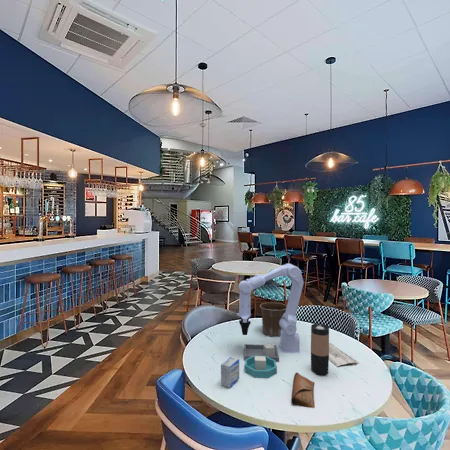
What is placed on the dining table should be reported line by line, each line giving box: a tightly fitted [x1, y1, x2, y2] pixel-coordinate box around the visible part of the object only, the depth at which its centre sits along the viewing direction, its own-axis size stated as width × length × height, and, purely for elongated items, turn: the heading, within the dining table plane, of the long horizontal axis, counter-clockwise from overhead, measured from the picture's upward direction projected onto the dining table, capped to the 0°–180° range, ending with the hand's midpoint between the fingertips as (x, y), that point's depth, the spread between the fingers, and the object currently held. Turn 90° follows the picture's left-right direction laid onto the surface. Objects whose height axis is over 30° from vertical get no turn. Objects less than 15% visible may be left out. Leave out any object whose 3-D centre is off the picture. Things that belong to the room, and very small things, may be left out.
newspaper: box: [329, 342, 360, 368], centre depth 142 cm, size 23×12×2 cm, turn 12°
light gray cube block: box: [263, 343, 275, 357], centre depth 140 cm, size 4×4×4 cm
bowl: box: [244, 356, 278, 379], centre depth 126 cm, size 14×14×3 cm
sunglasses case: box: [291, 372, 316, 409], centre depth 110 cm, size 18×7×7 cm, turn 164°
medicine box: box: [220, 356, 240, 389], centre depth 117 cm, size 8×4×9 cm, turn 148°
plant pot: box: [259, 302, 287, 338], centre depth 169 cm, size 16×16×16 cm
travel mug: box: [310, 323, 330, 377], centre depth 126 cm, size 8×8×20 cm
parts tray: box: [244, 343, 280, 363], centre depth 140 cm, size 16×13×2 cm
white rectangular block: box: [255, 356, 266, 370], centre depth 126 cm, size 5×4×5 cm
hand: (244, 331), depth 144 cm, fingers open, 7 cm apart
